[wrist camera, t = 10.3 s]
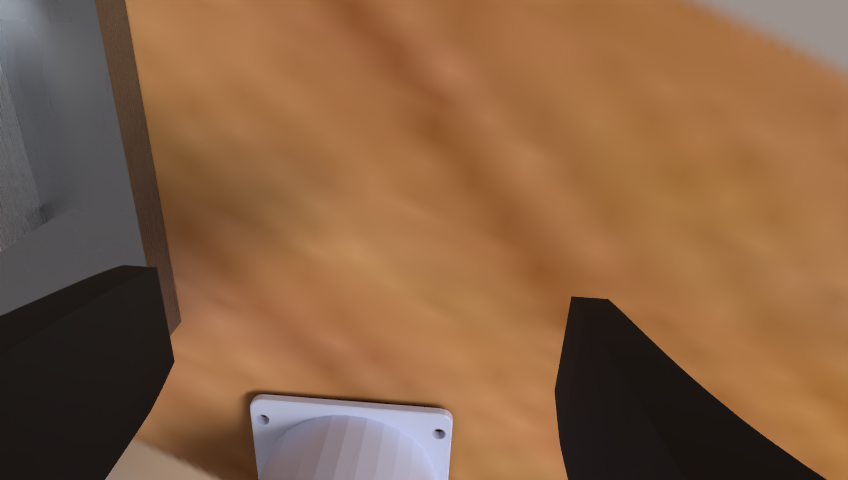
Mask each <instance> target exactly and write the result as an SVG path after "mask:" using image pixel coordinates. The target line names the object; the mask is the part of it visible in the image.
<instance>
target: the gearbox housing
mask: <svg viewBox="0 0 848 480" xmlns="http://www.w3.org/2000/svg"><path fill="white" fill-rule="evenodd" d="M122 265H130V266H144V267H157V271H158V276H159V281H160V287H161V292H162V297H163V303H164V308H165V313H166V319H167V324H168V329H169V335H171V334H172V333H173V331H174V330H175V329H176V328H177V326H178V325H179V324H180V322H181V320H180V314H179V308H178V302H177V297H176V291H175V285H174V280H173V274H172V268H171V262H170V257H169V251H168V245H167V239H166V234H165V228H164V222H163V217H162V211H161V205H160V199H159V194H158V188H157V182H156V177H155V171H154V165H153V159H152V154H151V148H150V142H149V137H148V131H147V125H146V119H145V114H144V108H143V102H142V96H141V91H140V85H139V79H138V74H137V68H136V62H135V56H134V51H133V45H132V39H131V34H130V28H129V22H128V16H127V11H126V5H125V0H0V316H1V315H3V314H6V313H8V312H10V311H12V310H15V309H17V308H19V307H22V306H24V305H26V304H28V303H31V302H33V301H35V300H37V299H40V298H42V297H44V296H47V295H49V294H51V293H53V292H56V291H58V290H60V289H63V288H65V287H67V286H69V285H72V284H74V283H77V282H79V281H81V280H84V279H86V278H88V277H91V276H93V275H96V274H98V273H101V272H104V271H106V270H109V269H112V268H115V267H118V266H122Z"/></svg>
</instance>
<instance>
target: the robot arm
mask: <svg viewBox="0 0 848 480" xmlns="http://www.w3.org/2000/svg"><path fill="white" fill-rule="evenodd" d="M174 362H175V361H174V356H173V351H172V345H171V340H170V335H169V329H168V324H167V319H166V313H165V308H164V303H163V297H162V292H161V287H160V281H159V276H158V271H157V267H144V266H130V265H122V266H118V267H115V268H112V269H109V270H106V271H104V272H101V273H98V274H96V275H93V276H91V277H88V278H86V279H84V280H81V281H79V282H77V283H74V284H72V285H69V286H67V287H65V288H63V289H60V290H58V291H56V292H53V293H51V294H49V295H47V296H44V297H42V298H40V299H37V300H35V301H33V302H31V303H28V304H26V305H24V306H22V307H19V308H17V309H15V310H12V311H10V312H8V313H6V314H3V315H1V316H0V480H105V479H106V477H107V476H108V474H109V473H110V471H111V470H112V468H113V467H114V465H115V464H116V463H117V461H118V459H119V458H120V457H121V455H122V454H123V452H124V451H125V449H126V448H127V446H128V445H129V443H130V442H131V440H132V439H133V437H134V436H135V434H136V433H137V431H138V430H139V428H140V427H141V425H142V424H143V422H144V421H145V419H146V417H147V416H148V414H149V413H150V411H151V409H152V407H153V405H154V403H155V401H156V399H157V398H158V396H159V394H160V392H161V390H162V388H163V385H164V383H165V381H166V379H167V377H168V375H169V372H170V370H171V368H172V366H173V364H174ZM555 400H556V411H557V421H558V430H559V439H560V446H561V451H562V455H563V460H564V464H565V468H566V473H567V477H568V480H826V479H825V478H823V477H822V476H820V475H819V474H817V473H816V472H814V471H813V470H811V469H810V468H808V467H807V466H805V465H804V464H802V463H801V462H800V461H798V460H797V459H795V458H794V457H793V456H791V455H790V454H788V453H787V452H786V451H784V450H783V449H781V448H780V447H779V446H777V445H776V444H774V443H773V442H772V441H770V440H769V439H767V438H766V437H764V436H763V435H762V434H760V433H759V432H758V431H756V430H755V429H754V428H752V427H751V426H750V425H749V424H747V423H746V422H745V421H743V420H742V419H741V418H739V417H738V416H737V415H736V414H735V413H733V412H732V411H731V410H730V409H728V408H727V407H726V406H725V405H724V404H722V403H721V402H720V401H719V400H718V399H716V398H715V397H714V396H713V395H711V394H710V393H709V392H708V391H707V390H705V389H704V388H703V387H702V386H701V385H700V384H699V383H697V382H696V381H695V380H694V379H693V378H692V377H690V376H689V375H688V374H687V373H686V372H685V371H684V370H683V369H682V368H680V367H679V366H678V365H677V364H676V363H675V362H674V361H673V360H672V359H671V358H670V357H668V356H667V355H666V354H665V353H664V352H663V351H662V350H661V349H660V348H659V347H658V346H657V345H656V344H655V343H654V342H653V341H652V340H651V339H649V338H648V337H647V336H646V335H645V334H644V333H643V332H642V331H641V330H640V329H639V328H638V327H637V326H636V325H635V324H634V323H633V322H632V321H631V320H630V319H629V318H628V317H627V316H626V315H625V314H624V313H623V312H622V311H621V310H619V309H618V308H617V307H616V306H615V305H614V304H613V303H612V302H611V301H610V300H608V299H599V298H584V297H571V302H570V308H569V313H568V319H567V325H566V330H565V336H564V341H563V347H562V353H561V358H560V364H559V369H558V375H557V381H556V386H555ZM250 415H251V423H252V431H253V439H254V448H255V456H256V464H257V472H258V480H448V473H449V461H450V449H451V437H452V424H453V418H452V415H451V413H450V412H449V411H447V410H446V409H441V408H430V407H418V406H405V405H392V404H380V403H367V402H355V401H342V400H330V399H317V398H305V397H292V396H280V395H267V394H260V395H257V396H255V397H254V398H253V400H252V402H251V404H250ZM262 415H266V416H267V417H268V418H266V417H263V416H262ZM436 429H441V430H443V431H441V432H438V431H435V430H436Z"/></svg>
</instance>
